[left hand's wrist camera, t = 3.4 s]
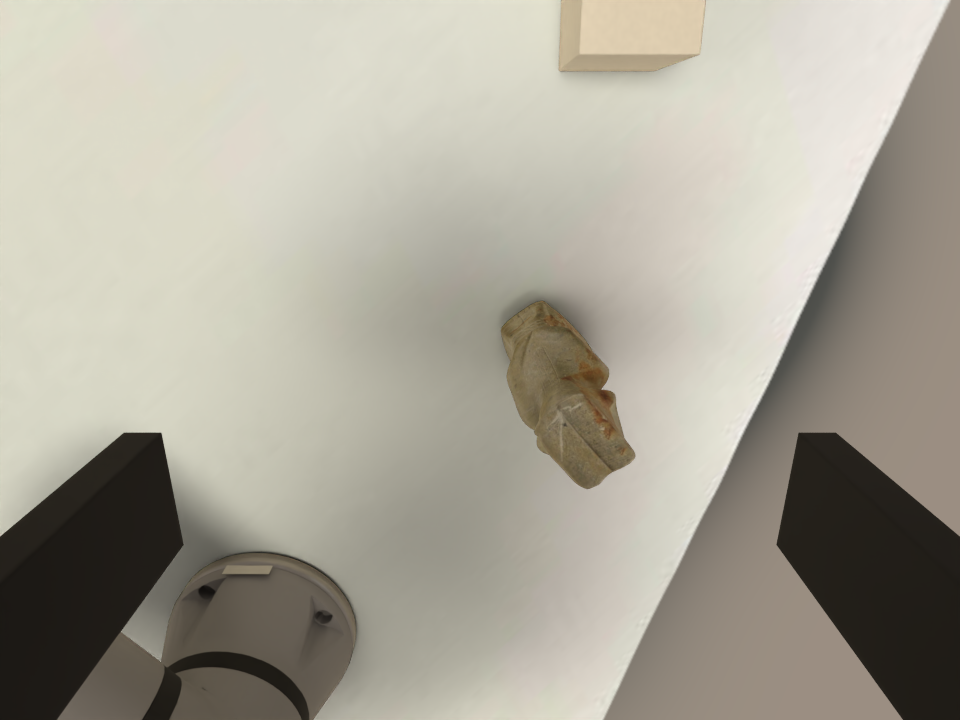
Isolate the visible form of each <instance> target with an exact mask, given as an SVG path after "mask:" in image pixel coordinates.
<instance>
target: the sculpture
mask: <svg viewBox="0 0 960 720" xmlns="http://www.w3.org/2000/svg"><path fill="white" fill-rule="evenodd" d="M501 335H502V339H503V343H504V346H505V349H506V352H507V355H508V357H509V359H510V361H511V362H510V365H509V368H508V372H507V381H508V385H509V388H510V390H511V393H512V395H513V398H514V401H515V404H516V407H517V410H518V412H519V414H520V417H521V419H522V420H523V422H524V423H525V424H526V425H527V426H529V427H530V428H531V429H533V430H535V431H534V432H535V434H536V435H537V446H538V448H539V449H540V450H541V451H542V452H543V453H546V454H548V455H550V456H551V457H552V458H553V459H554V460H555V462H556V463H557V464H558V465H559V466H560V467H561V468H562V469H563V470H564V471H565V472H566V473H567V474H568V476H569V477H570V478H571V479H572V480H573V481H574V482H575V483H577V484H578V485H579V486H581V487H583V488H585V489H590V488H592V487H595V486H597V485H599V484H600V483H601V482H602V481H603V480H604V478H605V477H606V476H607V475H609V474H610V473H612V472H614V471H616V470H618V469H621V468H622V467H624V466H626V465H628V464H630V463H631V462H632V461H633V460H634V458H635V453H634V451H633V449H632V448H631V447H630V445H629V444H628V443H627V441H626V440H625V438H624V435H623V431H622V427H621V424H620V420H619V416H618V413H617V408H616V397H615V394H614V393H613V392H611V391H607V390H601V389H602V387H603V386H604V385H605V383H606V382H607V380H608V377H609V369H608V367H607V366H606V365H605V364H604V363H603V362H602V361H601V360H600V359H599V358H598V357H597V356H596V355H595V354H594V353H593V351H592V350H591V348H590V346H589V345H588V343H587V342H586V341H585V339H584V338H583V337H582V336H581V335H580V333H579V332H578V331H577V330H576V329H575V328H574V327H573V326H572V325H571V324H570V323H569V322H568V321H567V320H566V319H565V318H564V317H563V316H562V315H561V314H559V313H558V312H557V311H556V310H554V309H553V308H552V307H550V306H549V305H548V304H547V303H546V302H544V301H539V302H535V303H533V304H531V305H530V306H528V307H526V308H525V309H523V310H522V311H520V312H519V313H518V314H516V315H515V316H513V317H512V318H511V319H510V320H509V321H507V322H506V323H505V324H504V326H503V327H502V328H501Z"/></svg>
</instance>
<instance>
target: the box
mask: <svg viewBox="0 0 960 720" xmlns="http://www.w3.org/2000/svg"><path fill="white" fill-rule="evenodd" d="M705 5H706V0H561V25H560V50H559V71H656V70H659V69H662V68H664V67H667V66H670V65H673V64H675V63H678V62H681V61H684V60H686V59H689V58H692V57H695V56H697V55H700V50H701V41H702V32H703V23H704V14H705Z"/></svg>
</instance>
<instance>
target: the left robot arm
mask: <svg viewBox="0 0 960 720" xmlns="http://www.w3.org/2000/svg"><path fill="white" fill-rule="evenodd" d="M182 546H183V540H182V535H181V530H180V525H179V520H178V515H177V510H176V505H175V499H174V494H173V489H172V484H171V479H170V474H169V469H168V464H167V459H166V454H165V449H164V444H163V439H162V434H161V433H123V434H122V435H121V436H120V437H118V438H117V439H116V440H115V441H114V442H113V443H111V444H110V445H109V446H108V447H107V448H105V449H104V450H103V451H102V452H101V453H99V454H98V455H97V456H96V457H95V458H93V459H92V460H91V461H90V462H89V463H87V464H86V465H85V466H84V467H83V468H82V469H80V470H79V471H78V472H77V473H76V474H74V475H73V476H72V477H71V478H70V479H68V480H67V481H66V482H65V483H64V484H62V485H61V486H60V487H59V488H58V489H56V490H55V491H54V492H53V493H52V494H50V495H49V496H48V497H47V498H46V499H45V500H43V501H42V502H41V503H40V504H39V505H37V506H36V507H35V508H34V509H33V510H31V511H30V512H29V513H28V514H27V515H25V516H24V517H23V518H22V519H21V520H19V521H18V522H17V523H16V524H15V525H14V526H12V527H11V528H10V529H9V530H8V531H6V532H5V533H4V534H3V535H2V536H0V720H313V719H314V718H315V716H316V715H317V713H318V712H319V710H320V709H321V708H322V706H323V705H324V703H325V702H326V701H327V699H328V698H329V696H330V695H331V693H332V692H333V691H334V689H335V688H336V686H337V685H338V683H339V682H340V680H341V679H342V677H343V675H344V673H345V671H346V670H347V667H348V665H349V663H350V660H351V656H352V652H353V648H354V644H355V639H356V624H355V618H354V615H353V612H352V609H351V607H350V605H349V603H348V601H347V599H346V597H345V596H344V595H343V593H342V592H341V591H340V589H339V588H338V587H337V586H336V585H335V584H334V583H333V582H332V581H331V580H330V579H329V578H327V577H326V576H325V575H323V574H322V573H321V572H319V571H318V570H316V569H314V568H313V567H311V566H309V565H307V564H305V563H302V562H300V561H298V560H295V559H292V558H289V557H285V556H281V555H275V554H268V553H244V554H238V555H233V556H229V557H225V558H223V559H220V560H217V561H215V562H213V563H211V564H209V565H208V566H206V567H204V568H203V569H202V570H200V571H199V572H198V573H197V574H196V575H195V576H194V577H193V578H192V579H191V580H190V581H189V582H188V584H187V585H186V587H185V588H184V590H183V592H182V593H181V595H180V596H179V598H178V599H177V601H176V603H175V605H174V607H173V610H172V613H171V616H170V619H169V622H168V627H167V633H166V638H165V643H164V648H163V654H162V659H161V662H160V661H159V660H157V659H156V658H155V657H153V656H152V655H151V654H149V653H148V652H147V651H145V650H144V649H143V648H141V647H140V646H139V645H137V644H136V643H135V642H133V641H132V640H131V639H129V638H128V637H127V636H125V635H124V634H123V633H121V630H122V629H123V628H124V626H125V625H126V623H127V622H128V621H129V619H130V618H131V617H132V615H133V614H134V612H135V611H136V610H137V608H138V607H139V606H140V604H141V603H142V601H143V600H144V599H145V597H146V596H147V594H148V593H149V592H150V590H151V589H152V588H153V586H154V585H155V583H156V582H157V581H158V579H159V578H160V576H161V575H162V574H163V572H164V571H165V570H166V568H167V567H168V565H169V564H170V563H171V561H172V560H173V558H174V557H175V556H176V554H177V553H178V552H179V550H180V549H181V547H182ZM777 546H778V547H779V549H780V550H781V552H782V553H783V554H784V556H785V557H786V558H787V560H788V561H789V563H790V564H791V565H792V567H793V568H794V570H795V571H796V572H797V574H798V575H799V576H800V578H801V579H802V581H803V582H804V583H805V585H806V586H807V588H808V589H809V590H810V592H811V593H812V594H813V596H814V597H815V599H816V600H817V601H818V603H819V604H820V605H821V607H822V608H823V610H824V611H825V612H826V614H827V615H828V617H829V618H830V619H831V621H832V622H833V623H834V625H835V626H836V628H837V629H838V630H839V632H840V633H841V635H842V636H843V637H844V639H845V640H846V641H847V643H848V644H849V646H850V647H851V648H852V650H853V651H854V653H855V654H856V655H857V657H858V658H859V659H860V661H861V662H862V664H863V665H864V666H865V668H866V669H867V670H868V672H869V673H870V675H871V676H872V677H873V679H874V680H875V682H876V683H877V684H878V686H879V687H880V689H881V690H882V691H883V693H884V694H885V695H886V697H887V698H888V700H889V701H890V702H891V704H892V705H893V707H894V708H895V709H896V711H897V712H898V713H899V715H900V716H901V718H902V719H903V720H960V536H958V535H957V534H956V533H955V532H954V531H952V530H951V529H950V528H949V527H948V526H946V525H945V524H944V523H943V522H942V521H941V520H939V519H938V518H937V517H936V516H934V515H933V514H932V513H931V512H930V511H929V510H927V509H926V508H925V507H924V506H923V505H921V504H920V503H919V502H918V501H917V500H915V499H914V498H913V497H912V496H911V495H910V494H908V493H907V492H906V491H905V490H904V489H902V488H901V487H900V486H899V485H898V484H896V483H895V482H894V481H893V480H892V479H890V478H889V477H888V476H887V475H886V474H884V473H883V472H882V471H881V470H880V469H878V468H877V467H876V466H875V465H874V464H872V463H871V462H870V461H869V460H868V459H866V458H865V457H864V456H863V455H862V454H861V453H859V452H858V451H857V450H856V449H855V448H853V447H852V446H851V445H850V444H849V443H847V442H846V441H845V440H844V439H843V438H841V437H840V436H839V435H838V434H837V433H799V434H798V439H797V444H796V449H795V454H794V459H793V464H792V469H791V474H790V479H789V484H788V489H787V494H786V500H785V505H784V510H783V515H782V520H781V525H780V530H779V535H778V540H777Z"/></svg>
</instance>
